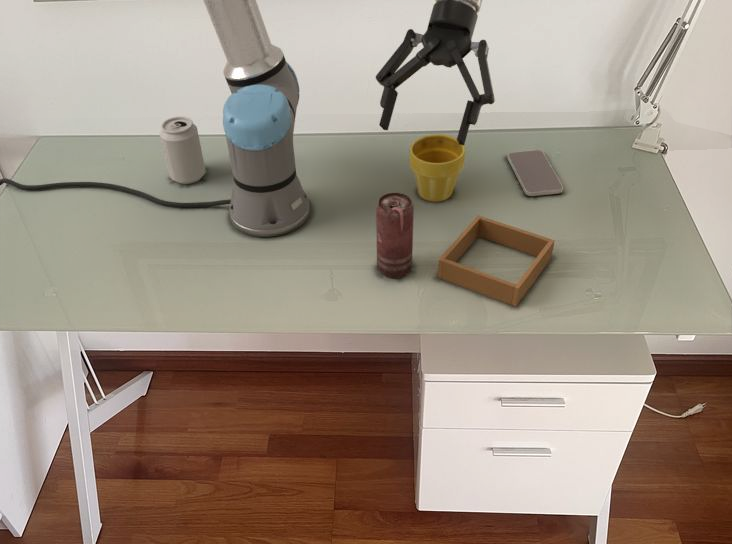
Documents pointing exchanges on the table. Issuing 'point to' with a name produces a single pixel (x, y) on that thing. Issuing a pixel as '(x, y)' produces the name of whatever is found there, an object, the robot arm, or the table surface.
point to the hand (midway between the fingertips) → (421, 135)
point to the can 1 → (182, 150)
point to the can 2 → (394, 234)
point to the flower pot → (436, 165)
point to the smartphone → (534, 173)
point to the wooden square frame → (487, 282)
